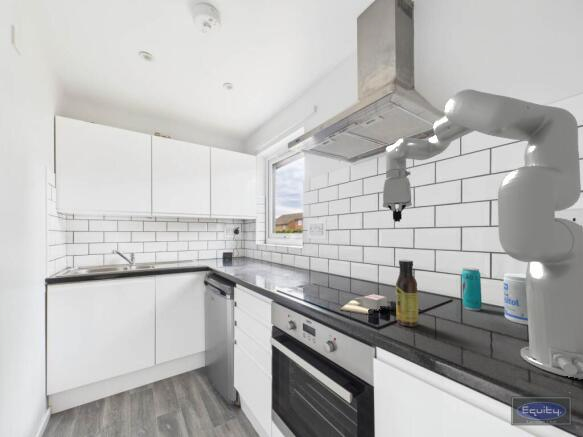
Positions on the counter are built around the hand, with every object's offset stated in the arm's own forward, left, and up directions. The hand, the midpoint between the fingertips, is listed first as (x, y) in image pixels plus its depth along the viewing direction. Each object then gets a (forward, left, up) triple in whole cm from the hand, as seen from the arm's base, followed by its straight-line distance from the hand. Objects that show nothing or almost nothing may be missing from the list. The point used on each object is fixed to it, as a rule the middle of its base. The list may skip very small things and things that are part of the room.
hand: (397, 221), depth 100 cm
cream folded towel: (-10, +12, -33) cm, 37 cm away
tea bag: (-9, +5, -31) cm, 32 cm away
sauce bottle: (-20, -5, -33) cm, 39 cm away
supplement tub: (+2, -37, -33) cm, 50 cm away
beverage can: (+10, -24, -33) cm, 42 cm away
